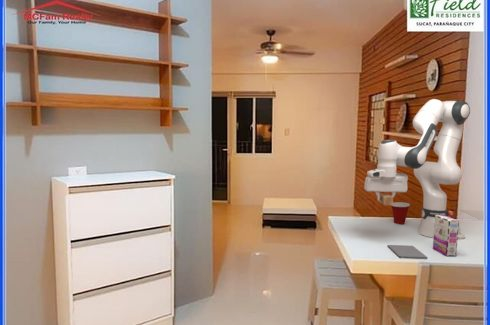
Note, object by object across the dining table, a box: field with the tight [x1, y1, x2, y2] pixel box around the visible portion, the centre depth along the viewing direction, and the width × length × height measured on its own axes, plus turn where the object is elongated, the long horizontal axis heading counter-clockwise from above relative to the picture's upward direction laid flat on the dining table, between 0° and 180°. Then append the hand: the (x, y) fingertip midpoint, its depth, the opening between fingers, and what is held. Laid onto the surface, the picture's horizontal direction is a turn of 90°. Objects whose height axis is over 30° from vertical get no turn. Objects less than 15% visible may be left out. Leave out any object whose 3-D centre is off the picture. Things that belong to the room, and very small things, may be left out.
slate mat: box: [386, 244, 428, 260], centre depth 174 cm, size 12×16×1 cm
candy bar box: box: [432, 215, 460, 257], centre depth 175 cm, size 11×5×16 cm, turn 5°
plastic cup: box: [390, 201, 411, 225], centre depth 227 cm, size 11×11×12 cm
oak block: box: [377, 193, 394, 207], centre depth 187 cm, size 4×4×10 cm
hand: (385, 200), depth 187 cm, fingers closed on oak block, 4 cm apart
